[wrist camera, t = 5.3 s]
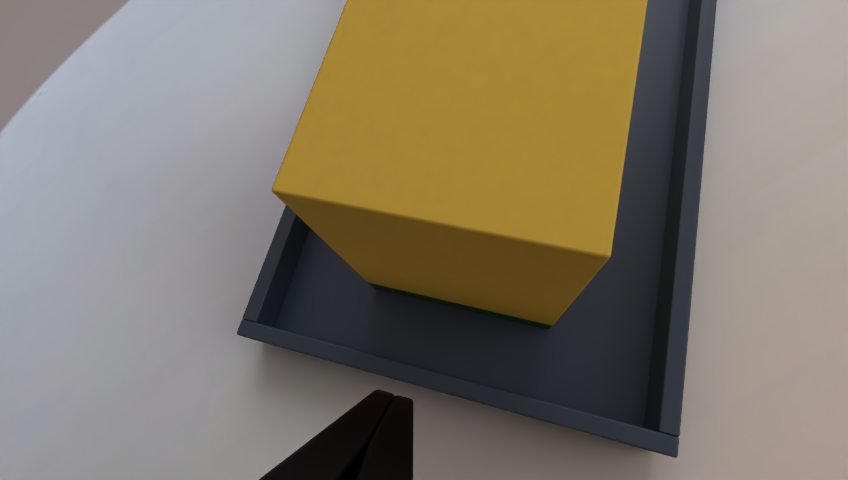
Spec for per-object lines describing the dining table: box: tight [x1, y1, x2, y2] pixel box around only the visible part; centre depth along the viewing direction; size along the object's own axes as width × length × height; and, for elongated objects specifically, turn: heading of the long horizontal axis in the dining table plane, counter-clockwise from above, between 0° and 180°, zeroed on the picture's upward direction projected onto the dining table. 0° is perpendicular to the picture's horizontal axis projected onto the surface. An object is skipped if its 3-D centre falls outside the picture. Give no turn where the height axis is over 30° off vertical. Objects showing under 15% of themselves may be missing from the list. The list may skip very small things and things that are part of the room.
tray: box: [237, 0, 717, 458], centre depth 20 cm, size 25×15×2 cm, turn 165°
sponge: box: [272, 0, 648, 329], centre depth 14 cm, size 8×7×9 cm
